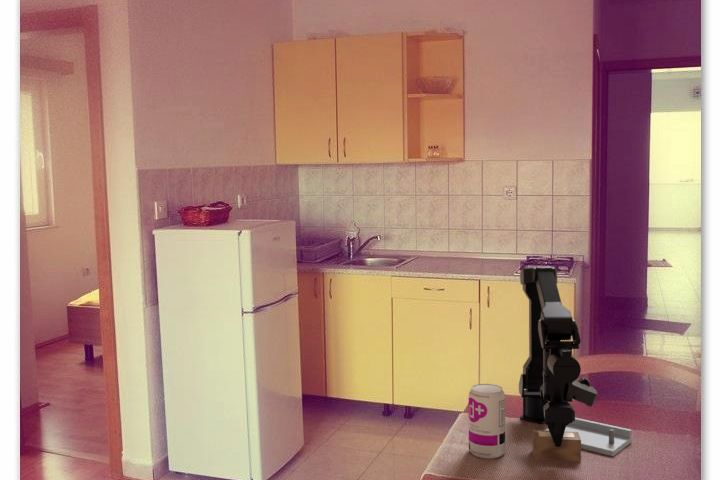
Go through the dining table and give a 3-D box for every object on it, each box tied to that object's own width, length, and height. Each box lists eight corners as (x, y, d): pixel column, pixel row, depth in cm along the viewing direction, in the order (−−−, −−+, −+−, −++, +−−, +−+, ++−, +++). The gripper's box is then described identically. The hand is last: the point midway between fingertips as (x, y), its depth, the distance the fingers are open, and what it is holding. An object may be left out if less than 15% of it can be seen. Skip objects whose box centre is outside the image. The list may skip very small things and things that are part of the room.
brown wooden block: (534, 459, 157) (534, 437, 156) (532, 451, 162) (532, 429, 161) (580, 462, 155) (581, 439, 155) (577, 453, 160) (578, 431, 159)
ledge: (538, 438, 169) (538, 421, 169) (559, 425, 177) (559, 409, 177) (613, 456, 157) (613, 438, 157) (631, 442, 166) (631, 424, 165)
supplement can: (483, 462, 155) (483, 395, 154) (461, 450, 163) (461, 386, 161) (512, 455, 159) (512, 390, 158) (490, 443, 166) (489, 381, 165)
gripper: (600, 383, 146) (599, 457, 147) (589, 361, 164) (588, 426, 166) (545, 381, 148) (544, 454, 149) (539, 359, 166) (539, 424, 168)
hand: (556, 438), depth 158 cm, fingers open, 9 cm apart
